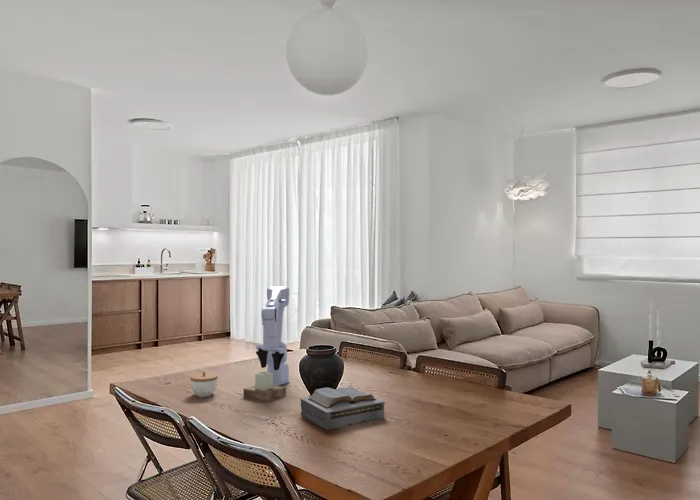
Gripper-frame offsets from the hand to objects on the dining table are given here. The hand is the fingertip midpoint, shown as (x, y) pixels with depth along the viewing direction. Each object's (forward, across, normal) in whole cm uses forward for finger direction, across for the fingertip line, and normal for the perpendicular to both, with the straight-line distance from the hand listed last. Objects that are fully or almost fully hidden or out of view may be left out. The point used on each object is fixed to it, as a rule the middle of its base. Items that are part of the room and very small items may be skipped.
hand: (270, 368), depth 231 cm
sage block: (+6, +3, -6) cm, 10 cm away
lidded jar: (+10, -19, -19) cm, 29 cm away
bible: (+10, +44, -7) cm, 46 cm away
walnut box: (+10, +3, -6) cm, 12 cm away
